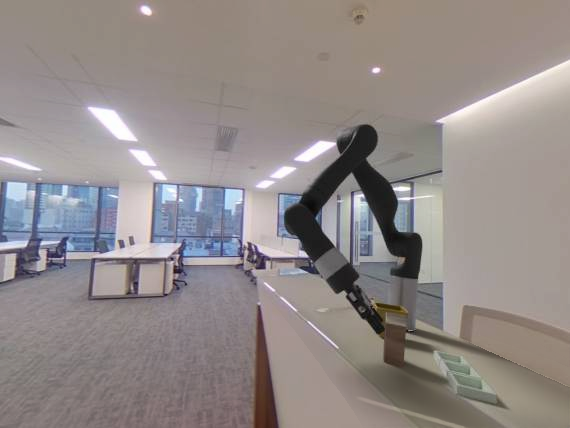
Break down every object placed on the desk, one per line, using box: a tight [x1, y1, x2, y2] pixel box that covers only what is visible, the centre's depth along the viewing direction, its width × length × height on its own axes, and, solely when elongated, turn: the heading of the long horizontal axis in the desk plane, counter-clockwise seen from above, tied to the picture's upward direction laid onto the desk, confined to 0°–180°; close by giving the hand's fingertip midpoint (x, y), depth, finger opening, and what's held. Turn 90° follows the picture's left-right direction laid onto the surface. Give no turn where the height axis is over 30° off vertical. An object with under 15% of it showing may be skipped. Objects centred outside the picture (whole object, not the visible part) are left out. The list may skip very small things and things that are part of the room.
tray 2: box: [439, 360, 483, 380], centre depth 56 cm, size 6×6×2 cm
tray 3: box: [447, 372, 498, 405], centre depth 50 cm, size 6×6×2 cm
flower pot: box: [372, 301, 409, 339], centre depth 79 cm, size 9×9×9 cm
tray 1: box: [433, 350, 472, 367], centre depth 62 cm, size 6×6×2 cm
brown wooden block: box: [382, 312, 407, 367], centre depth 61 cm, size 4×4×10 cm
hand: (381, 327), depth 62 cm, fingers open, 8 cm apart
